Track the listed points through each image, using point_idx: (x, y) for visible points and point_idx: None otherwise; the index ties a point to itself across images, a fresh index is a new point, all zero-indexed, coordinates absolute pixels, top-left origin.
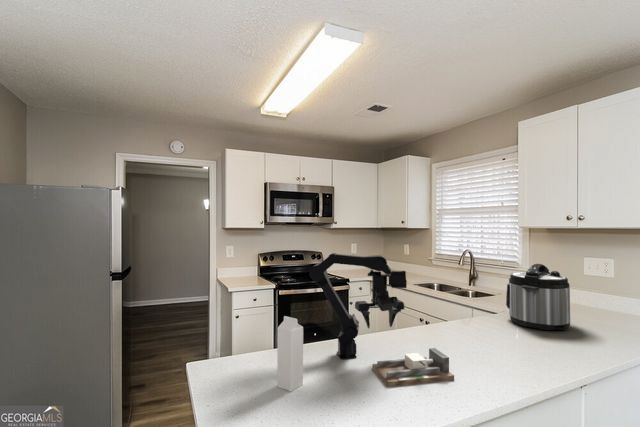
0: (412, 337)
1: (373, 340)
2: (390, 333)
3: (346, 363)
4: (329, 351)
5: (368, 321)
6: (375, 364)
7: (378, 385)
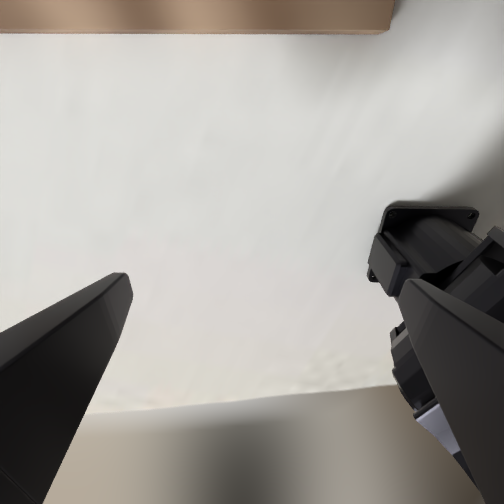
0: None
1: (212, 358)
2: (121, 396)
3: (482, 149)
4: None
5: (499, 336)
6: (371, 15)
7: None
